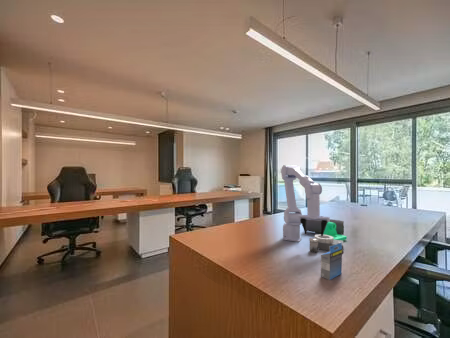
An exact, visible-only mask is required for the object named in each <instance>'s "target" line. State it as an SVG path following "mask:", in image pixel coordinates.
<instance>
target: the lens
mask: <svg viewBox="0 0 450 338" xmlns="http://www.w3.org/2000/svg"><path fill="white" fill-rule="evenodd" d="M308 241H309V252H310V253H315V254H317V253H319V249H318V239H316V238H315V237H310V238H309V239H308Z"/></svg>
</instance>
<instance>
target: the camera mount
mask: <svg viewBox="0 0 450 338" xmlns="http://www.w3.org/2000/svg"><path fill="white" fill-rule="evenodd" d="M323 235H329V236H332V237H333V239H334V240H342V241H343V243H344V242H345V240H347V239H348V238H347V235H340V234H337V232H336V224H335V223H333V222H328V223H327V225H326V228H325V231H324V234H323Z"/></svg>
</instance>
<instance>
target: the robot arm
mask: <svg viewBox="0 0 450 338" xmlns="http://www.w3.org/2000/svg"><path fill="white" fill-rule="evenodd" d="M280 173H281V178H282V179H281V180H283V183H284V190H285V191H284V192H285V197H286V198H285V199H286V204H287V205H286V206H287V208H286V209H285V210H284V211H283V222H284V223H283V225H282V240H284V241H291V242H301V240H302V237H301V232H300V231H301V225H302V228H303V232H304V235H307V234H308V233H307V232H308V231H307V228H306V223H307V220H318V221H321V236H323V232H324V228H325V226H326V224H327V222H329V221H330V219H331V218H330V216H324V215H323V216H322V215H321V212H320V210H321V209H320V205H321V204H320V203H321V202H320V195H321V194H322V192H323V188H322V187H323V186H322V185H321V184H320V182H315V181H314V180H313V179H312V178H311V177H310V176H309V175H305V174H304V173H303V172H302V171H301V167H300V166H299V165H298V164H294V165H293V164H292V165H291V164H290V165H287V164H283V166H281V170H280ZM297 179H298V181H299V184H300V185H301V186H302V187H303V188H304V193H305V198H306V199H307V200H306V201H307V209H306V210H307V214H302V210H301V209H300V208H298V207H297V200H296V196H295V195H296V194H295V187H294V181H295V180H297ZM309 218H310V219H309Z"/></svg>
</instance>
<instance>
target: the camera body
mask: <svg viewBox="0 0 450 338" xmlns="http://www.w3.org/2000/svg"><path fill="white" fill-rule="evenodd" d="M314 238H316V239H318V250H322V251H327V252H329V251H330V248H329V246H333V245H336V244H339V243H342V254H343V253H344V242H343V241H342V240H334V239H333V237H332V236H329V235H323V236H321V234H315V235H314ZM336 249H338V247H336V248H334V250H336Z"/></svg>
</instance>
